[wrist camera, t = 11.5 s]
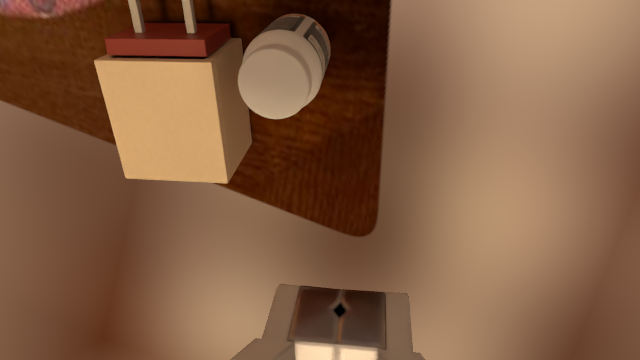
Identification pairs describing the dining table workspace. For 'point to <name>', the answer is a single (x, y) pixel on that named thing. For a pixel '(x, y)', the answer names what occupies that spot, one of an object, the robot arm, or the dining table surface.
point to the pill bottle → (284, 66)
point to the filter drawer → (168, 36)
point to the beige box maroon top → (177, 114)
